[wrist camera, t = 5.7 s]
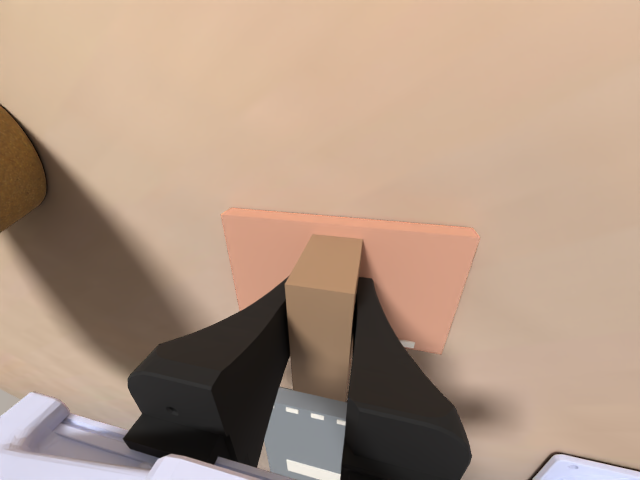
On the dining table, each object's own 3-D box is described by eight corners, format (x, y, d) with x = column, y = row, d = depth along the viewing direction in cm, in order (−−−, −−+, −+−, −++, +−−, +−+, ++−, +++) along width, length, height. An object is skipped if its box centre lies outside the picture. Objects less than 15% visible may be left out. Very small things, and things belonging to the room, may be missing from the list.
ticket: (413, 417, 19) (415, 437, 17) (389, 495, 25) (389, 513, 24) (262, 383, 21) (255, 398, 20) (275, 463, 27) (271, 478, 26)
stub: (472, 227, 11) (529, 301, 7) (437, 339, 15) (461, 436, 10) (230, 207, 14) (160, 253, 9) (248, 308, 17) (202, 377, 13)
